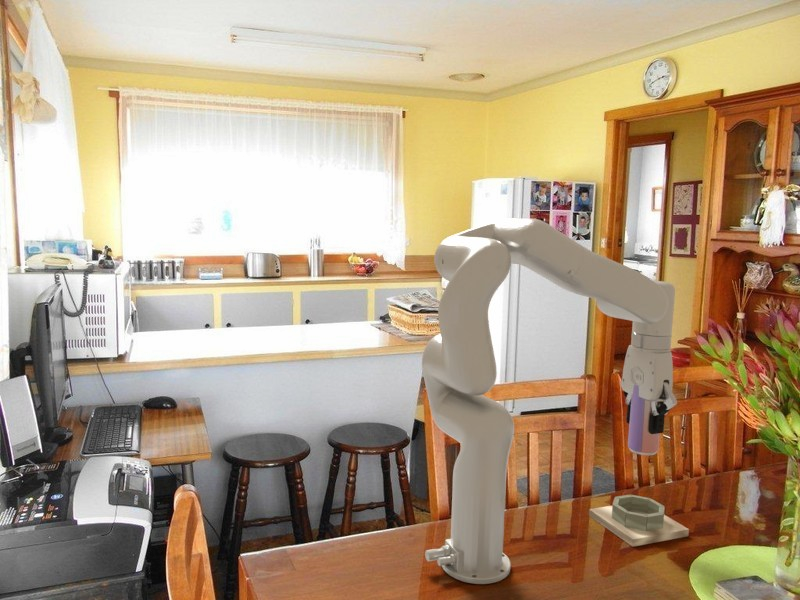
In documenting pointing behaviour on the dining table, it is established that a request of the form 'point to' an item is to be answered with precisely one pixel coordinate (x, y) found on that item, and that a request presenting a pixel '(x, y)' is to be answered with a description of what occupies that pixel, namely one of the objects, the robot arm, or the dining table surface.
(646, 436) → the beverage can
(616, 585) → the dining table surface
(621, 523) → the can holder
